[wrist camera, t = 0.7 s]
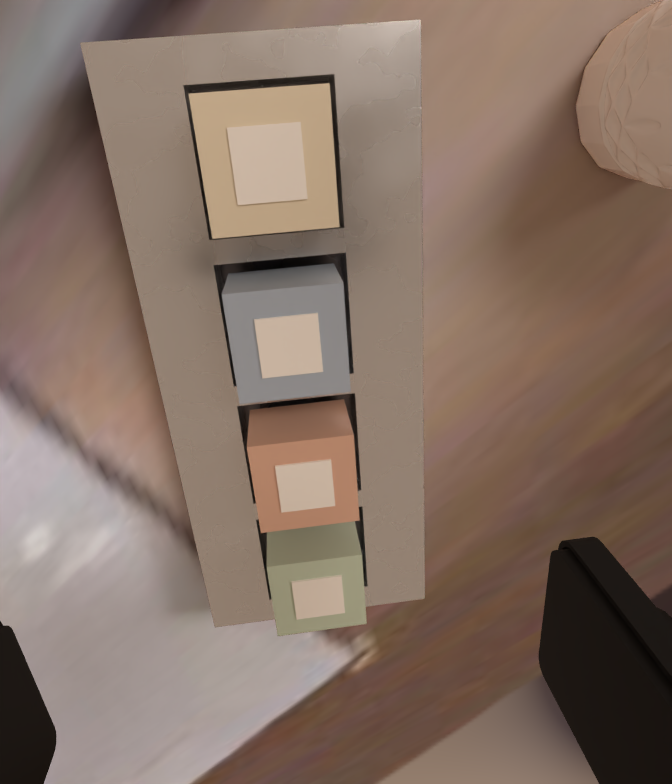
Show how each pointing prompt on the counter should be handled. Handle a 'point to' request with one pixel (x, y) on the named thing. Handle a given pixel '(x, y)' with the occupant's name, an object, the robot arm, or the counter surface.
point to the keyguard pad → (274, 251)
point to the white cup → (631, 98)
